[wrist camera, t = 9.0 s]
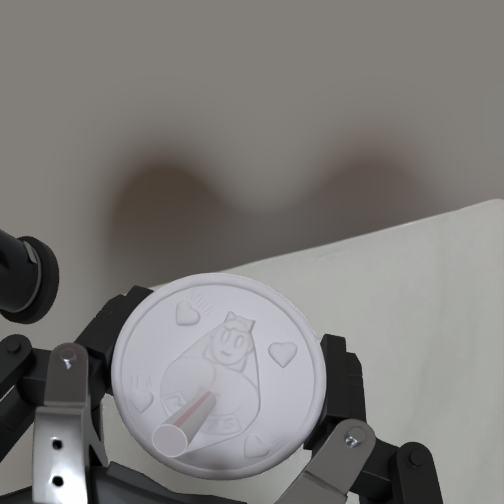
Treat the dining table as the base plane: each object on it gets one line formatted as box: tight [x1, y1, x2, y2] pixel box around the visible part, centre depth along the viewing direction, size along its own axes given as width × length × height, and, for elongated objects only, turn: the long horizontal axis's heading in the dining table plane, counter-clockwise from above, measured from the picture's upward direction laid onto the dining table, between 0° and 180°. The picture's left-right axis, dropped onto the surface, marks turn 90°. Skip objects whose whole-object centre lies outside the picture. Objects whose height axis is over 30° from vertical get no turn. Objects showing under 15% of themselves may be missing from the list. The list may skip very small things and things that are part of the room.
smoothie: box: [111, 273, 326, 480], centre depth 11 cm, size 6×6×14 cm
